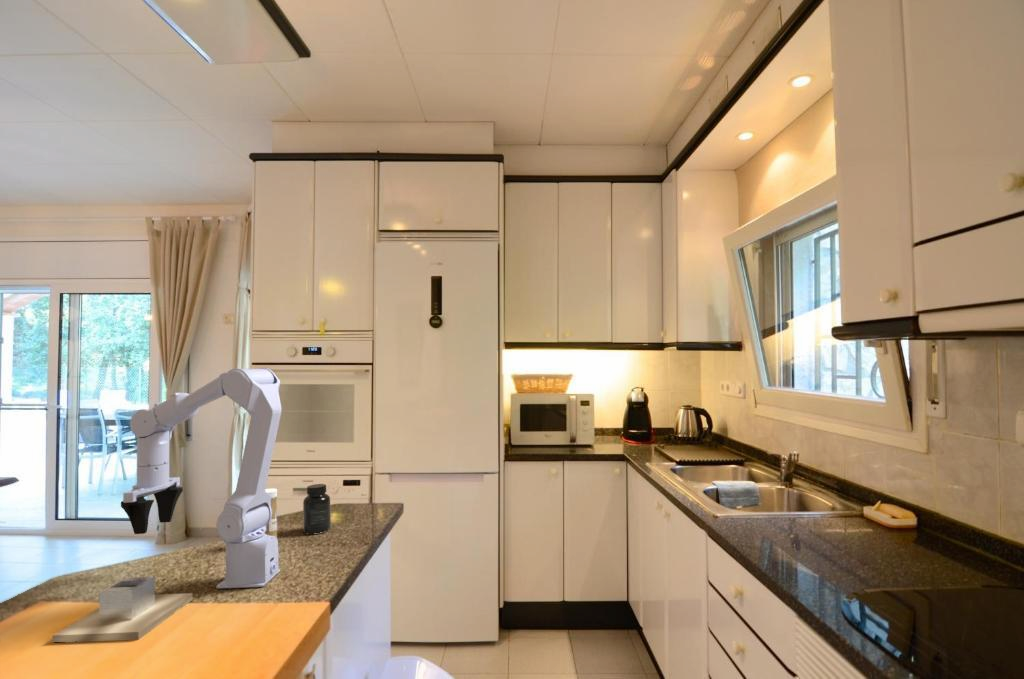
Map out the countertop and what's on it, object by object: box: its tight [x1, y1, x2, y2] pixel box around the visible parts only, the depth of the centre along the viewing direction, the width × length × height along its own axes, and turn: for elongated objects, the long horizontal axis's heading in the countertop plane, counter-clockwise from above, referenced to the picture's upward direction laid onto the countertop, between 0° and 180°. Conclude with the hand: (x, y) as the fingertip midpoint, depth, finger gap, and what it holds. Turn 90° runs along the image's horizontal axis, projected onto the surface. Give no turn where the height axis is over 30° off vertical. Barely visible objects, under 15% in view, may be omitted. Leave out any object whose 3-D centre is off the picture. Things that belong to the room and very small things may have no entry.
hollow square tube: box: [98, 576, 156, 621], centre depth 89 cm, size 6×6×5 cm
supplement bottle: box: [302, 483, 332, 535], centre depth 135 cm, size 7×7×12 cm
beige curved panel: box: [52, 592, 194, 643], centre depth 89 cm, size 14×14×5 cm
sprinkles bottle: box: [265, 487, 279, 541], centre depth 126 cm, size 5×5×13 cm
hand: (153, 527), depth 108 cm, fingers open, 7 cm apart
